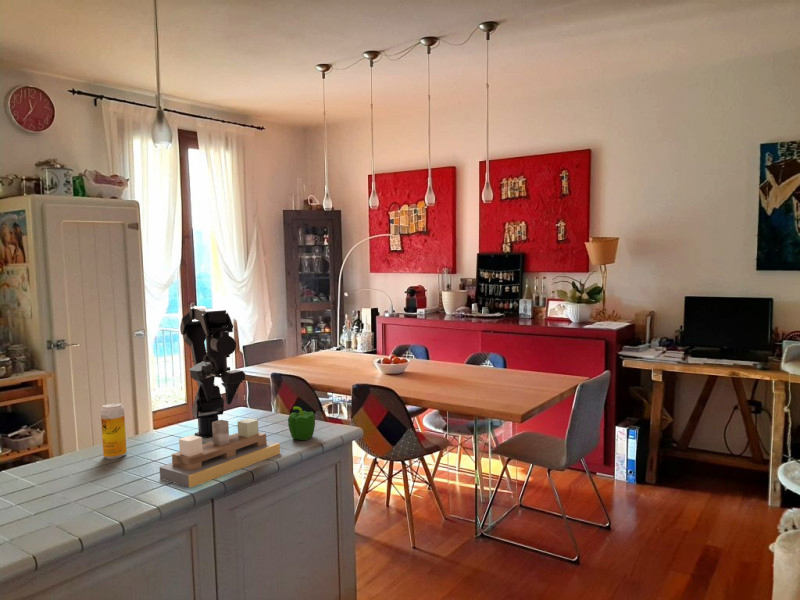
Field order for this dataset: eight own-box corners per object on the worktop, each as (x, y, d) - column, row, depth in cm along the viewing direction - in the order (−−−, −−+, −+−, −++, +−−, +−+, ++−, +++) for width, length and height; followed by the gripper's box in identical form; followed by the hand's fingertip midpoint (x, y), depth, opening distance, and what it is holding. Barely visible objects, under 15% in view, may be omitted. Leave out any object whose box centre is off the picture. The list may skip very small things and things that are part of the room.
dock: (160, 478, 155) (159, 467, 155) (250, 446, 179) (249, 436, 179) (190, 488, 148) (189, 476, 147) (280, 453, 172) (279, 443, 172)
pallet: (172, 465, 156) (170, 431, 155) (247, 439, 176) (246, 409, 175) (191, 471, 151) (189, 435, 150) (266, 444, 172) (265, 413, 171)
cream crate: (179, 454, 155) (179, 439, 155) (193, 450, 158) (192, 435, 158) (189, 456, 153) (188, 441, 153) (202, 452, 156) (201, 437, 156)
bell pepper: (321, 436, 188) (320, 404, 187) (305, 443, 181) (304, 411, 180) (300, 433, 192) (299, 402, 191) (283, 440, 185) (282, 408, 184)
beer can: (98, 458, 173) (95, 406, 171) (115, 451, 178) (112, 401, 177) (114, 460, 170) (111, 408, 169) (131, 453, 176) (128, 403, 175)
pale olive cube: (238, 435, 171) (237, 421, 170) (249, 431, 174) (248, 418, 174) (247, 437, 168) (247, 423, 168) (258, 433, 172) (258, 419, 171)
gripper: (174, 352, 179) (176, 404, 180) (214, 357, 169) (217, 412, 170) (205, 347, 188) (207, 396, 190) (245, 352, 178) (247, 403, 179)
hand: (218, 402), depth 182 cm, fingers open, 9 cm apart
